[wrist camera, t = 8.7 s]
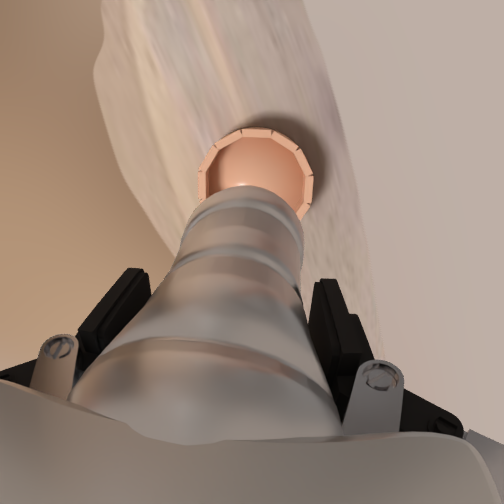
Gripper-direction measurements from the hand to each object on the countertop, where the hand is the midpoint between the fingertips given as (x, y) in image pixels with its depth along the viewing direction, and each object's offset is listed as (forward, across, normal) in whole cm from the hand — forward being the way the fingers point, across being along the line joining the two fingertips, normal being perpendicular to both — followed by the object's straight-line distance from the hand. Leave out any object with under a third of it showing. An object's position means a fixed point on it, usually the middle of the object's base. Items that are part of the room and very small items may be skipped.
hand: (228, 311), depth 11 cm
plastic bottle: (+9, 0, 0) cm, 9 cm away
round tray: (+24, 0, 0) cm, 24 cm away
